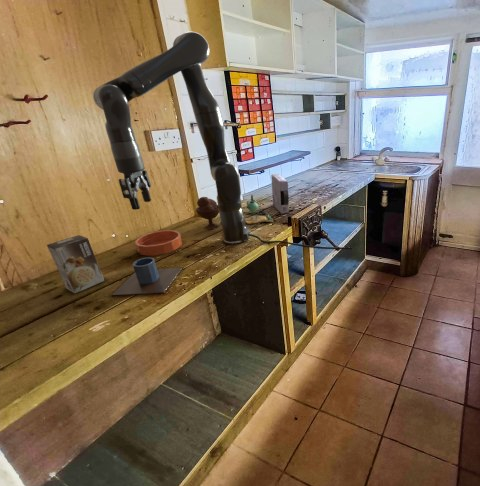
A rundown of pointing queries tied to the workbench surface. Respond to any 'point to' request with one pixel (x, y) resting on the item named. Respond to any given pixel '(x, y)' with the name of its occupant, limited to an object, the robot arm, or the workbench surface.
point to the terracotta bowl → (158, 242)
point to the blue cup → (146, 270)
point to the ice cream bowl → (207, 210)
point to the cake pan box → (280, 193)
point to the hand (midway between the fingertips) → (142, 205)
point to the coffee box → (76, 263)
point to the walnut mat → (157, 287)
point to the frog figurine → (255, 218)
